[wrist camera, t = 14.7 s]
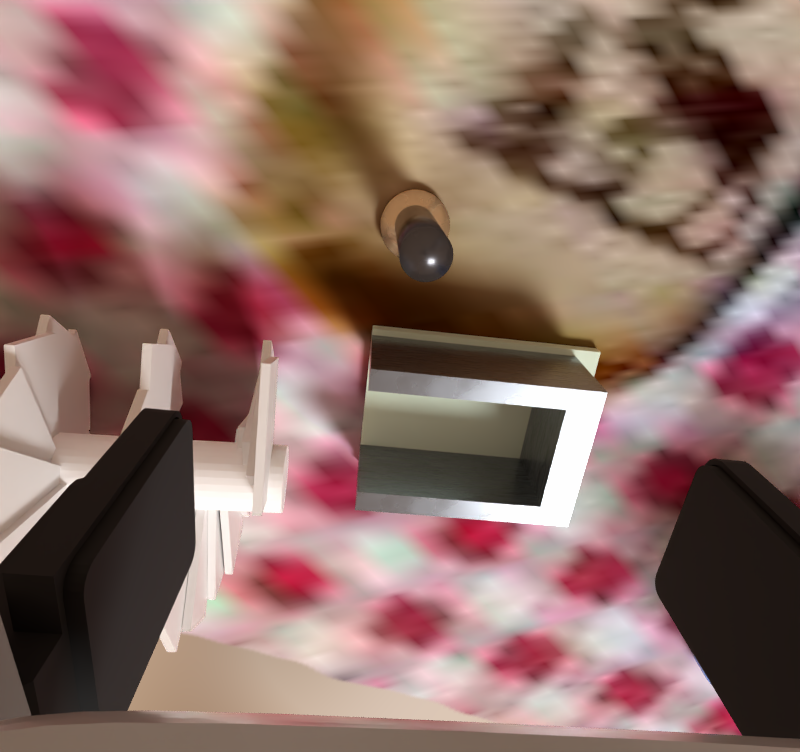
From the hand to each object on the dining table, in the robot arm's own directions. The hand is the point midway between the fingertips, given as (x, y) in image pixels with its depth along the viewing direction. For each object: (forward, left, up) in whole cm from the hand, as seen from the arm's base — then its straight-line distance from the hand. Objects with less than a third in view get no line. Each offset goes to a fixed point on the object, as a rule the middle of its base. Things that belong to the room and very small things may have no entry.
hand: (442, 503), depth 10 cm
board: (-7, +12, -28) cm, 31 cm away
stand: (-1, -1, -28) cm, 28 cm away
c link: (-6, +11, -28) cm, 30 cm away
